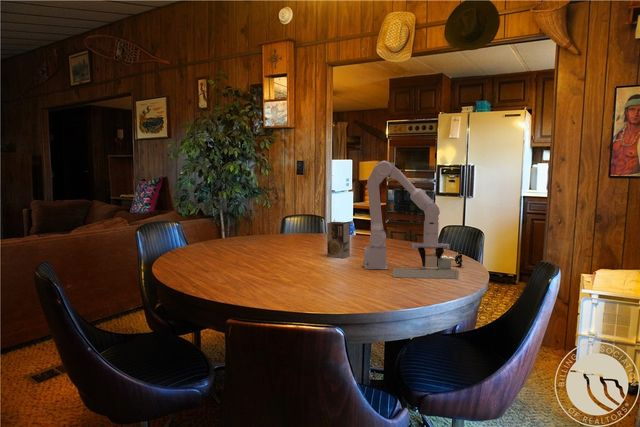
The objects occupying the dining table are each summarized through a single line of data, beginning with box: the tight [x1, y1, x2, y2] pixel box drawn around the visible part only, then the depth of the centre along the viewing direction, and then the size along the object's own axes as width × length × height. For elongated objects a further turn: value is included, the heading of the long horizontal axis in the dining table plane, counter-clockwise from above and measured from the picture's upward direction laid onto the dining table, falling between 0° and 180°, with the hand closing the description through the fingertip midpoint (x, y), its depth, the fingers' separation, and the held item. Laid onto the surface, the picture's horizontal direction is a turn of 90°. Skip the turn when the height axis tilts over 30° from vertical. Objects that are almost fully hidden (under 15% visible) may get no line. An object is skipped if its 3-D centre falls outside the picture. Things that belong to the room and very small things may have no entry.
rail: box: [392, 258, 460, 280], centre depth 163 cm, size 24×8×6 cm, turn 86°
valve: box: [431, 249, 463, 268], centre depth 180 cm, size 7×7×12 cm
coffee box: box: [326, 221, 351, 259], centre depth 200 cm, size 9×6×16 cm
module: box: [422, 253, 438, 269], centre depth 171 cm, size 4×7×6 cm
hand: (430, 266), depth 173 cm, fingers closed on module, 4 cm apart
